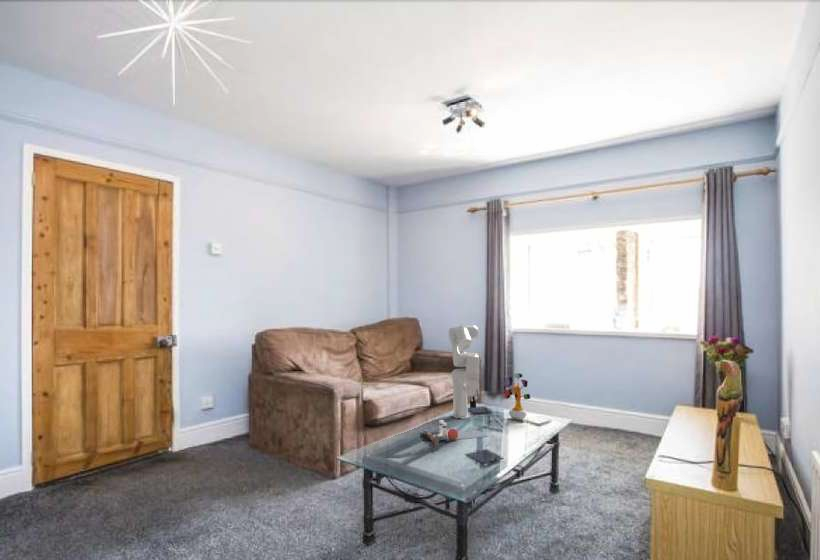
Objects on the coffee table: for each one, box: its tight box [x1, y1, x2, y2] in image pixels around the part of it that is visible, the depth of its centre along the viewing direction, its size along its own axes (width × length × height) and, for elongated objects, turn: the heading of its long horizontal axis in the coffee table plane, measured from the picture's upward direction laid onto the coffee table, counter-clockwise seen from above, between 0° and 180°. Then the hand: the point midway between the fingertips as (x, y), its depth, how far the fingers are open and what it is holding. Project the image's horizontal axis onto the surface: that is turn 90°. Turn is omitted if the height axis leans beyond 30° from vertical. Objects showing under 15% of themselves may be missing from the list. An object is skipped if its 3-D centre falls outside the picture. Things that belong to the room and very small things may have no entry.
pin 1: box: [438, 419, 444, 434], centre depth 252 cm, size 2×2×9 cm
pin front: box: [432, 432, 448, 438], centre depth 249 cm, size 2×2×9 cm
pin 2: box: [442, 422, 448, 439], centre depth 247 cm, size 2×2×9 cm
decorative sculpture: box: [503, 373, 531, 421], centre depth 286 cm, size 20×8×30 cm, turn 37°
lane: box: [445, 430, 488, 442], centre depth 253 cm, size 11×30×1 cm, turn 107°
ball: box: [447, 428, 459, 441], centre depth 247 cm, size 6×6×6 cm
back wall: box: [423, 429, 440, 446], centre depth 248 cm, size 20×2×2 cm, turn 17°
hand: (473, 407), depth 256 cm, fingers closed
